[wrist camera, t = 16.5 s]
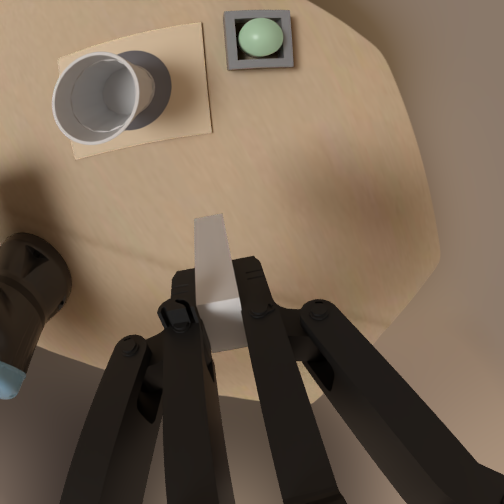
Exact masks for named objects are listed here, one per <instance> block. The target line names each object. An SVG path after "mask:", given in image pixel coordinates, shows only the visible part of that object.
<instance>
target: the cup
mask: <svg viewBox="0 0 504 504" xmlns="http://www.w3.org/2000/svg"><path fill="white" fill-rule="evenodd" d="M154 93H155V83H154V79H153V77H152V75H151V74H150V73H149V72H148V71H147V70H146V69H145V68H143V67H141V66H137V65H134V64H132V63H130V62H129V61H127V60H125V59H124V58H122V57H120V56H118V55H116V54H113V53H110V52H92V53H88V54H86V55H83V56H81V57H79V58H77V59H76V60H74V61H73V62H72V63H71V64H69V65H68V66H67V67H66V69H65V70H64V71H63V72H62V74H61V75H60V77H59V79H58V81H57V83H56V85H55V88H54V91H53V97H52V110H53V115H54V119H55V121H56V123H57V125H58V127H59V129H60V130H61V131H62V132H63V134H64V135H66V136H67V137H68V138H69V139H71V140H73V141H75V142H77V143H80V144H84V145H98V144H102V143H106V142H108V141H110V140H112V139H114V138H115V137H117V136H118V135H120V134H121V133H122V132H123V131H124V130H125V129H126V128H127V127H128V125H129V124H130V123H131V122H132V121H133V120H134V118H135V117H136V116H137V115H138V114H139V113H140V112H142V111H143V110H144V109H145V108H147V107H148V105H149V104H150V103H151V101H152V99H153V97H154Z"/></svg>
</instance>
